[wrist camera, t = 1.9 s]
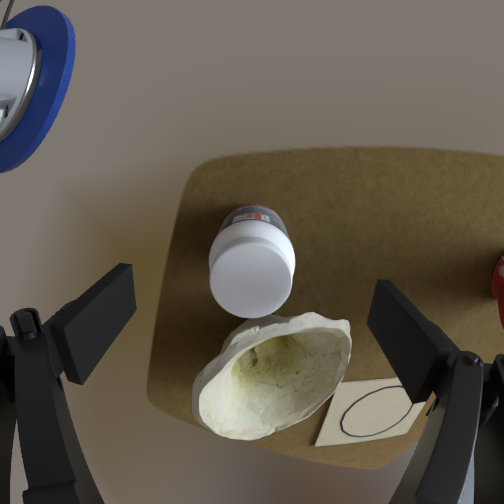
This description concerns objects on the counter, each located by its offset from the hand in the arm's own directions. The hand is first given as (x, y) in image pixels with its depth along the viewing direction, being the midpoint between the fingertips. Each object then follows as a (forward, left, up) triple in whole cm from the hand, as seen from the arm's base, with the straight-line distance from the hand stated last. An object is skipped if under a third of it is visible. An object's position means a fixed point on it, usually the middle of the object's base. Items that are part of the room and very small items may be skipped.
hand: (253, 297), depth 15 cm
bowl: (+11, +3, -12) cm, 16 cm away
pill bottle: (0, 0, -12) cm, 12 cm away
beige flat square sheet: (+24, +19, -11) cm, 32 cm away
